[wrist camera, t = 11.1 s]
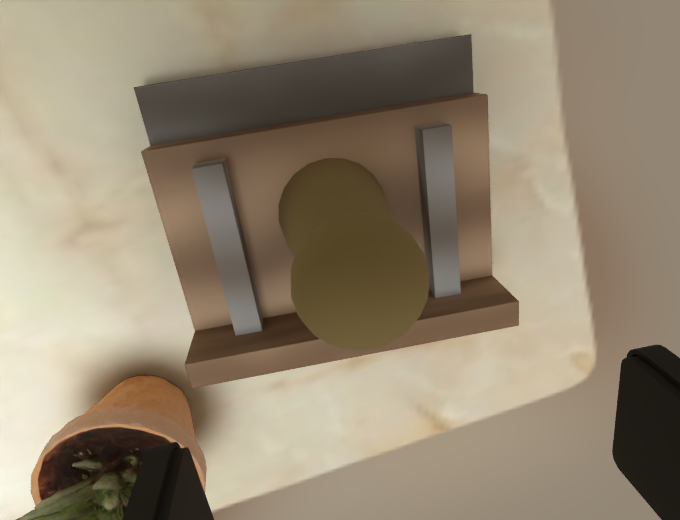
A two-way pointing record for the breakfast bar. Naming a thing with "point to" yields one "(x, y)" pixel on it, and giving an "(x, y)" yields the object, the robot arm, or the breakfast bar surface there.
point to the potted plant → (110, 451)
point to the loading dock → (295, 153)
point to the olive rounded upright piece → (350, 257)
